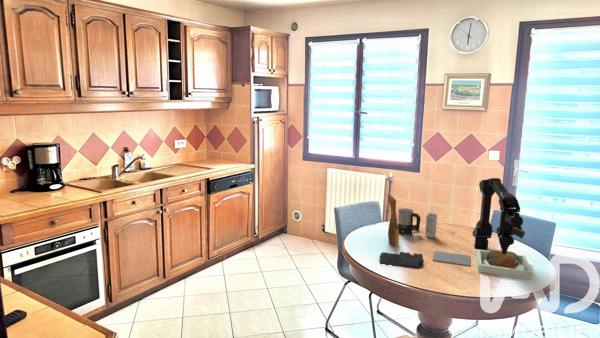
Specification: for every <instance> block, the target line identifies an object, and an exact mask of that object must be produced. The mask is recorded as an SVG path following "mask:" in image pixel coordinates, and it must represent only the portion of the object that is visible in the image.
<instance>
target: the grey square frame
mask: <svg viewBox="0 0 600 338" xmlns="http://www.w3.org/2000/svg"><path fill="white" fill-rule="evenodd" d="M489 251H490V250H484V249H477V248H476V263H477V264H476V265H477V272H478V273H485V274H490V275H491V274H492V275H497V276H498V275H500V276H503V277H504V276H505V277H512V278H518V279H525V280H532V279H533V271H532V269H531V267H530V264H529V262H528V259H527V257H526V255H522V254H516V255H517V256H518V257H519V259H520V264H521V265H522V267H523V269H520V268H519V269H518V268H514V269H512V268H505V267H498V266H491V265H490V264H483V263H482V258H485V259H486V257H487V254H488V252H489Z"/></svg>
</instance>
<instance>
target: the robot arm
mask: <svg viewBox="0 0 600 338" xmlns="http://www.w3.org/2000/svg"><path fill="white" fill-rule="evenodd" d="M478 185H479V192H480V194H481V204H480V205H481V207H480V215H479V217H480V218H479V220H478V222H477V223H475V224H476V225H475V228H474V229H473V230H472V232H471V233H472V236H473V237H474V244H473V247H474V249H476V250H477V249H478V250H486V251H488V248H489V239H491V238H492V235H493V226H492V224H491V222H490V219H491V208H492V198H493V196H494V194H496V195H497V197H498V203H499V207H500V208H499V210H500V218H499V224H498V225H499V226H498V227H496V234H497V237H498V242H499V246H500V249H501V251H502V252H503V254H506V252H507V251H508V249H509V248H510V246H512V245H514V244H515V239H514V237H513V236H516V237H518V238H520V239H523V238H524V236H525V234H526V231H525V230H524V229H522V225H523V223H524V219H523V217H522V216H520V213H521V207H520V203H519V201H518V199H517V196H515V195H514V194H513V193H510V192H509V191H508V190H507V189H506V187H505V186H504V184H503V183H502V181H501V178H499V177H490V178H488V179H487V178H486V179H482V180H480V181H479V183H478Z"/></svg>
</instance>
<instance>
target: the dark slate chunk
mask: <svg viewBox="0 0 600 338" xmlns="http://www.w3.org/2000/svg"><path fill="white" fill-rule="evenodd" d="M423 257H424V256H423V254H422V253H415V252H414V253H413V254H411V253H410V252H404V251H400V252H399V253H393V252H392V253H391V252H390V253H389V252H385V251H382V252H381V253H380V254H379V263H380V265H382V264H385V265H384V266H389V265H392V266H391V267H399V268H406V269H416V270H420V269H423V266H424V262H425V261H424V258H423Z"/></svg>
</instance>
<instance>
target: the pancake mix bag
mask: <svg viewBox="0 0 600 338" xmlns="http://www.w3.org/2000/svg"><path fill="white" fill-rule="evenodd" d="M387 200H388V204H389V207H390V218H389V223H388V229H387V238H388V242H389V246H391V245H392V246H391V247H393V246H394V247H395V248H396V247H398V246H399V242H400V236H399V235H400V234H399V232H398V215H397V200H396V199H395V198H394V196H393V195H391V194H390V193H388V194H387ZM394 247H393V248H394Z"/></svg>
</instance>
